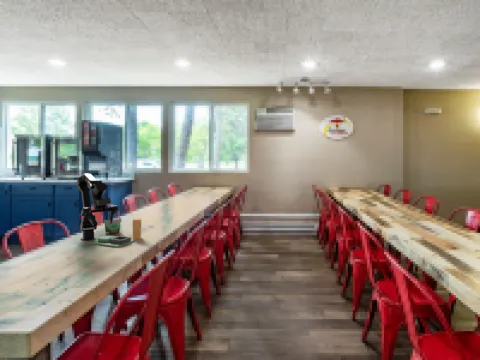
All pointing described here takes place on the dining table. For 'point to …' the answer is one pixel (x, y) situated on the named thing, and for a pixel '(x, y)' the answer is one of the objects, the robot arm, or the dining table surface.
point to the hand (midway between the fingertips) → (102, 224)
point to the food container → (112, 226)
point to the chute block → (136, 228)
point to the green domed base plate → (113, 241)
